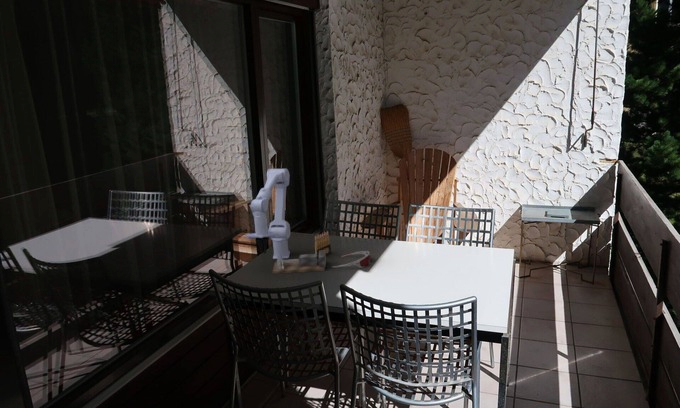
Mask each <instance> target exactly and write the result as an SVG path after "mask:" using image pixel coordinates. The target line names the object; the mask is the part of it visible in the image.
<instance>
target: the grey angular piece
mask: <svg viewBox="0 0 680 408" xmlns="http://www.w3.org/2000/svg"><path fill="white" fill-rule="evenodd" d="M282 260H283V263H295V262H299V261H300V259H299V258H294V259H290V258H289V259H283V258H282V255H278V258H277V259H276V262H277V267H278V268H279V270H281V269H282V268H281V267H282Z"/></svg>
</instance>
